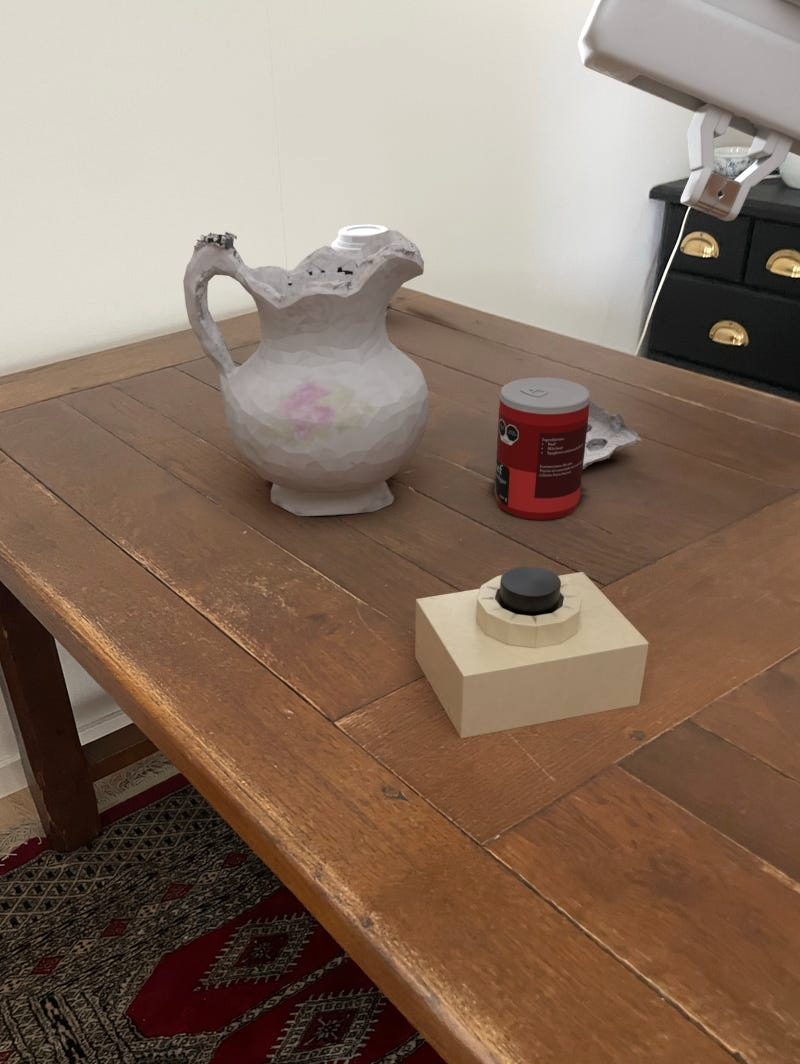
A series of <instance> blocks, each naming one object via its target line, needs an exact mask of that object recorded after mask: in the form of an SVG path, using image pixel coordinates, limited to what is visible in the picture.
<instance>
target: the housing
mask: <svg viewBox="0 0 800 1064" xmlns="http://www.w3.org/2000/svg"><path fill="white" fill-rule="evenodd" d="M502 575H503V574H501V575H497V576H495V577H493V578H491V579H490V580H488V581H487V582H485V583H483V584H481V585H480V587H479V588H475V589H469V590H464V591H463V590H462V591H457V592H451V593H450V592H449V593H443V594H438V595H433V596H426V597H421V598H415V639H414V640H415V641H414V643H415V647H414V649H415V650H414V651H415V653H414V655H415V656H414V658H415V659H416V662H417V663H418V665H419V667H420V669H421V670H422V672H423V674H424V676H425V677H426V680H427V681H428V683H429V684H430V686H431V688H432V690H433V692H434V694H435V695H436V697H437V699H438V701H439V703H440V704H441V706H442V708H443V709H444V711H445V713H446V715H447V717H448V718H449V720H450V721H451V724H452V725H453V727H454V728H455V731H456V732H457V734H458V736H459V738H460V739H465V738H471V737H476V736H478V737H479V736H483V735H487V734H488V735H489V734H493V733H498V732H503V731H509V730H514V729H519V728H525V727H529V726H536V725H541V724H546V723H552V722H556V721H561V720H566V719H572V718H577V717H583V716H587V715H593V714H598V713H604V712H610V711H615V710H620V709H624V708H625V709H626V708H630V707H635V706H639V705H640V701H641V695H642V690H643V683H644V676H645V670H646V663H647V657H648V651H649V645H650V643H649V641H648V640H647V639H646V638H645V637H644V636H643V635H642V634H641V633H640V632H639V630H638V629H637V628H636V627H635V626H634V625H633V624H632V623H631V622H630V620H628V619H627V618H626V616H624V614H623V613H622V612H621V611H620V610H619V609H618V607H616V605H614V604H613V603H612V601H610V599H609V598H608V597H607V596H606V595H605V594H604V593H603V592H602V590H601V589H600V588H598V586H597V585H596V584H595V583H594V582H593V580H591V579H590V577H588V576H587V574H586V573H585V572H583V571H579V572H572V573H566V574H560V575H557V576H558V577H559V578H560V581H561V588H560V598H559V606H558V608H557V610H556V611H554V612H553V613H549V614H543V615H537V616H527V615H519V614H515V613H512V612H510V611H508V610H506V609H503V608H502V607H501V605H500V603H499V598H500V582H501V577H502Z"/></svg>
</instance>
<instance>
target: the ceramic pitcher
mask: <svg viewBox="0 0 800 1064" xmlns="http://www.w3.org/2000/svg"><path fill="white" fill-rule="evenodd" d="M199 237H200V239H196V241H197V242H196V244H195V245H194V246H193V253H192V256H191V258H190V260H189V262H188V264H186V269H185V273H184V277H183V280H182V283H183V293H184V301H185V302H184V303H185V308H186V313H187V318H188V322H189V325H190V327H191V329H192V331H193V332H194V335H195V336H196V338H197V340H198V341H199V344H200V346H201V348H202V351H203V353H204V355H205V356H206V357H208V359H209V360H210V361H211V362H212V363H213V364H214V366H215V368H216V370H217V372H218V379H219V389H220V396H221V400H222V403H223V405H222V406H223V409H224V415H225V419H226V425H227V429H228V432H229V436H230V438H231V441H232V443H233V446H234V447H235V449H236V451H237V453H238V454H239V456H240V457H241V458H242V459H243V460H244V461H245V462H246V464H247V465H249V467H251V469H253V471H255V472H256V473H257V474H258V475H259V476H260V477H261V478H262V479H263V480H265V481H268V482H271V483H272V485H271V489H270V502H271V503H272V504H274V505H276V506H278V507H280V508H282V509H284V510H286V511H288V512H290V513H292V514H293V515H296V516H297V517H314V516H336V515H352V514H353V515H354V514H361V513H362V514H363V513H373V512H376V511H379V510H380V509H383V508H385V507H388V506H390V505H392V504H393V502H394V499H395V497H394V495H393V494H392V493H391V491H390V488H389V486H388V485H389V484H388V483H387V482H386V481H387V480H388V479H390V478H391V477H393V476H394V475H396V474H397V473H398V472H399V471H401V469H403V468H404V466H405V465H406V464H407V463H408V462H409V461H410V460H411V458H412V457H413V455H414V454H415V452H416V451H417V448H418V447H419V444H420V442H421V441H422V439H423V437H424V434H425V431H426V428H427V426H428V423H429V412H430V395H429V390H428V386H427V381H426V378H425V376H424V374H423V371H422V369H421V368H420V367H419V365H418V364H417V363H416V362H415V361H413V359H411V358H410V357H409V356H407V355H406V354H405V353H404V352H403V351H401V350H400V349H399V348H398V347H396V345H394V344H393V343H392V342H391V341H390V338H389V336H388V333H387V325H386V317H385V311H386V309H387V310H388V306H389V304H390V302H391V299H392V298H393V297H394V295H395V294H396V293H397V292H398V291H399V290H400V289H401V286H403V284H405V283H407V282H408V281H411V280H413V279H415V278H417V277H419V276H422V275H424V270H425V269H424V268H425V261H424V259H423V258H422V255H421V251H420V249H419V248H418V247H417V245H416V244H415V243H414V242H413V241H412V240H410V239H408V238H407V237H406V236H405V235H404V234H402V233H401V232H399V231H398V230H397V229H395V230H394V229H388V231H385V232H381V233H377V234H375V235H373V236H372V237H371V238H370V239H369V240H368V241H367V242H366V243H365V245H364V246H363V247H362V248H361V249H360V250H359V251H358V252H357V253H356V254H353V253H347V252H338V251H336V250H335V249H333V248H332V246H327V245H323V246H321V247H319V248H317V249H315V250H314V251H313V252H311V253H310V254H308V255H307V256H306V257H304V258H303V259H302V260H301V261H300V262H299V263H298V264H297V265H296V266H295V267H294V269H289V270H288V269H285V268H283V267H280V266H275V265H263V266H259V267H255V268H251V267H249V266H248V265H246V264H245V262H244V260H243V259H242V257H241V255H240V253H239V252H238V250H237V249H236V247H235V246H234V241H236V240H237V239H238V236H237V235H235V234H234V233H232V232H228V231H225V232H224V234H221V233H220V234H219V233H213V232H210V233H208V234H207V235H204V234H200V236H199ZM215 276H226V277H230V278H232V279H233V280H235V281H237V282H238V283H239V284H240V285H241V286H242V287H243V289H244V290H245V291H246V292H247V293H248V294H249V295H250V296H251V297H252V299H253V301H254V303H255V306H256V309H257V312H258V316H259V323H260V342H259V345H258V347H257V348H256V350H255V351H254V352H253V354H252V355H251V356H250V357H249V358H248V359H247V360H245V361H244V362H243V363H242V364H241V365H238V366H236V365H235V363H234V361H233V358H232V356H231V354H230V351H229V348H228V345H227V342H226V339H225V337H224V335H223V334H222V331H221V330H220V328H219V327H218V324H217V323H216V322H215V320H214V318H213V316H212V314H211V311H210V310H209V302H208V301H209V300H208V286H209V281H211V280H212V279H213V278H214V277H215Z"/></svg>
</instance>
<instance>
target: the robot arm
mask: <svg viewBox="0 0 800 1064" xmlns="http://www.w3.org/2000/svg"><path fill="white" fill-rule="evenodd" d="M577 45H578V49H579V53H580V58H581V62H582V64H583V66H584V67H585V68H587V69H588V70H591V71H594V72H595V73H599V74H600V75H603V76H606V77H608V78H611V79H612V80H616V81H618V82H620V83H623V84H625V85H628V86H630V87H633V88H635V89H637V90H640V91H642V92H644V93H647V94H649V95H652V96H653V97H656V98H658V99H661V100H664V101H666V102H668V103H671V104H673V105H676V106H677V107H680V108H683V109H685V110H688V111H690V112H691V113H692V112H693V113H694V115H693V118H692V120H691V123H690V125H689V127H688V129H687V132H686V137H687V138H686V139H687V150H688V159H689V160H688V161H689V171H691V173H690V175H689V178H688V180H687V182H686V185H685V186H684V189H683V192H682V194H681V196H680V201H679V203H680V204H682V205H685V206H687V207H689V208H691V209H694V210H696V211H700V212H702V213H705V214H707V215H709V216H712V217H714V218H717V219H719V220H722V221H725V222H731V221H734V220H735V219H736V218H737V217H738V215H739V214H740V212H741V210H742V208H743V206H744V204H745V201H746V199H747V197H748V194H749V192H750V189H752V188H754V187H755V186H757V185H759V183H760V182H762V181H763V180H764V179H765V178H766V177H767V176H769V175H770V174H771V173H773V171H775V170H776V169H777V168H778V167H780V166H781V165H782V164H783V163H785V161H786V159H787V156H788V154H789V153H791V154H793V155H796V156H798V157H800V0H595V1H594V4H593V5H592V8H591V10H590V13H589V15H588V17H587V19H586V20H585V24H584V26H583V28H582V30H581V33H580V36H579V38H578V44H577ZM728 127H729V128H731V129H733V130H736V131H738V132H741V133H743V134H745V135H747V136H750V137H752V138H753V141H752V143H751V146H749V150H748V152H747V155H746V156H747V158H748V159H749V160H751V161H754V162H753V163H752V164H750V166H748V167H747V168H746V169H745V170H744V171H742V172H741V173H740V174H739V175H738V176H737V177H735V179H733V178H730V177H727V176H725V175H722V174H721V173H718V172H716V171H715V170H716V168H715V167H716V166H715V165H716V163H715V139H716V138H719V137H721V136H724V135H725V134H726V132H727V129H728Z"/></svg>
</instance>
